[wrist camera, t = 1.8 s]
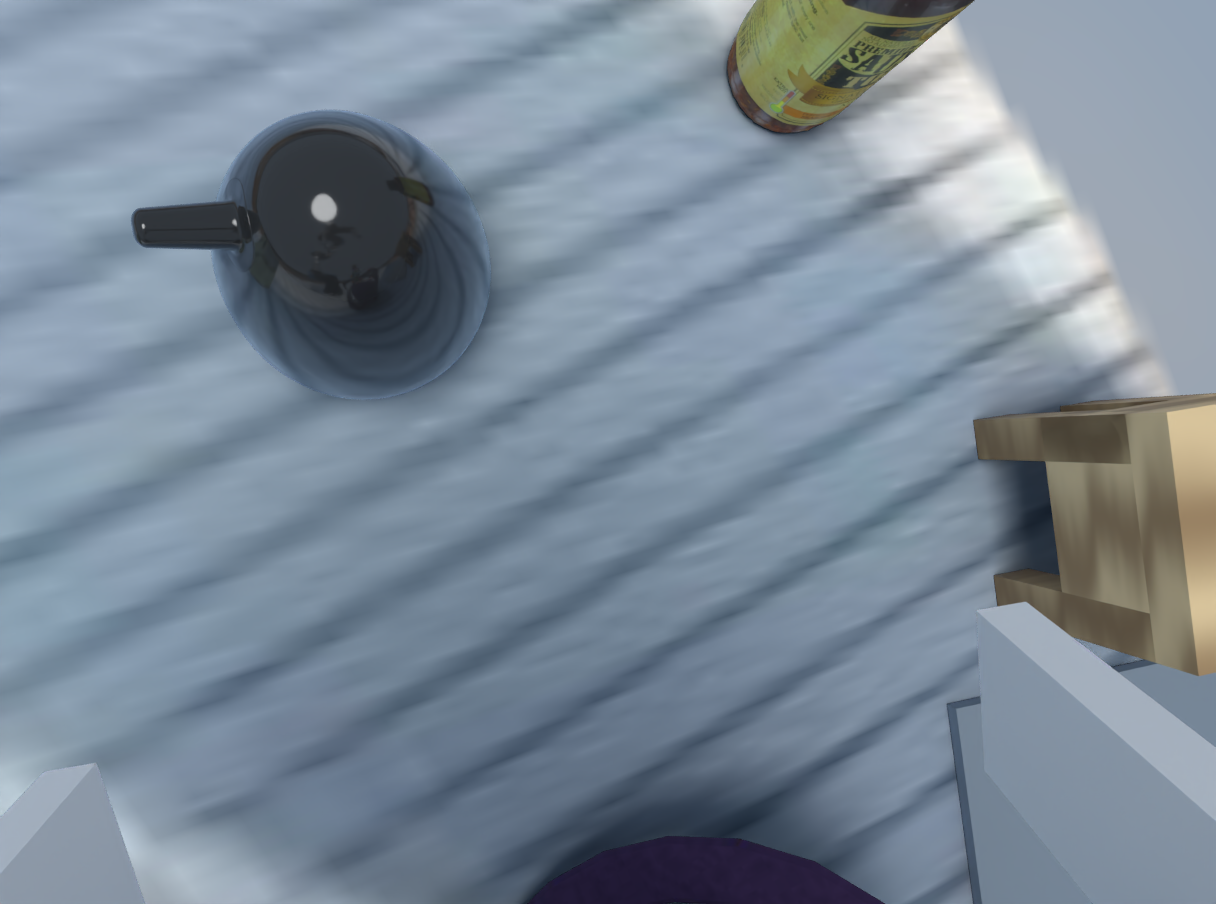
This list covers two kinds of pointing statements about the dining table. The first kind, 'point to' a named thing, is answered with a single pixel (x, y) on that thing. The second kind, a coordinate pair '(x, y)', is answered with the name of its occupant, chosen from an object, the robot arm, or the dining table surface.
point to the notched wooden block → (1123, 523)
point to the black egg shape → (340, 253)
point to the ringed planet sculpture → (699, 876)
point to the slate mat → (996, 832)
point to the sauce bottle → (824, 54)
